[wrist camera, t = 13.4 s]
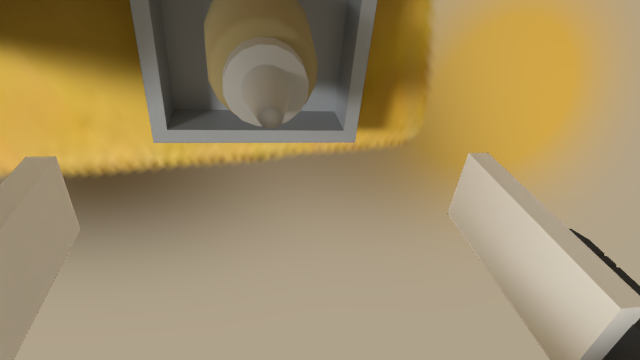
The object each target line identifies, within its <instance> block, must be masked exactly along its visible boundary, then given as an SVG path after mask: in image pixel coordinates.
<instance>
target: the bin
mask: <svg viewBox="0 0 640 360" xmlns="http://www.w3.org/2000/svg"><path fill="white" fill-rule="evenodd" d="M212 1H213V0H130V6H131V12H132V18H133V24H134V30H135V36H136V42H137V47H138V53H139V59H140V65H141V71H142V77H143V83H144V89H145V95H146V100H147V106H148V112H149V118H150V124H151V130H152V136H153V142H154V143H336V142H355V139H356V132H357V126H358V120H359V113H360V107H361V101H362V95H363V88H364V82H365V76H366V69H367V63H368V57H369V51H370V44H371V38H372V32H373V25H374V19H375V13H376V6H377V0H297V1H298V2H299V3H300V5H301V6H302V7H303V8H304V10H305V13H306V16H307V20H308V23H309V27H310V30H311V34H312V39H313V44H314V49H315V53H316V58H317V63H318V68H317V78H316V85H315V87H314V89H313V91H312V93H311V95H310V97H309V99H308V101H307V102H306V103H305V104H304V105H303V107H302V109H301V111H300V112H299V113H298V114H297V115H295V116H294V117H293V118H292V119H291V120H289V121H288V122H285V123H282V124H281V125H280V126H279V127H277V128H274V129H267V128H265V127H262V126H255V125H252V124H250V123H247V122H245V121H242V120H241V119H240V118H239V117H238V116H237V115H235V114H233V113H232V112H231V111H230V110H229V109H228V108H227V107H226V106H224V105H223V104H222V103H221V102H220V101H219V100H218V99H217V97H216V95H215V92H214V90H213V88H212V86H211V84H210V82H209V79H208V69H207V59H206V49H205V36H204V21H205V18H206V15H207V13H208V10H209V7H210V4H211V2H212Z"/></svg>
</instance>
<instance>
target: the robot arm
mask: <svg viewBox="0 0 640 360" xmlns="http://www.w3.org/2000/svg"><path fill="white" fill-rule="evenodd" d="M448 215H449V217H450V218H451V220H452V221H453V222H454V224H455V225H456V227H457V228H458V229H459V231H460V232H461V234H462V235H463V237H464V238H465V240H466V241H467V242H468V244H469V245H470V247H471V248H472V249H473V251H474V252H475V254H476V255H477V257H478V258H479V259H480V261H481V262H482V264H483V265H484V266H485V268H486V269H487V271H488V272H489V273H490V275H491V276H492V278H493V279H494V281H495V282H496V284H497V285H498V286H499V288H500V289H501V291H502V292H503V293H504V295H505V296H506V298H507V299H508V301H509V302H510V303H511V305H512V306H513V308H514V309H515V311H516V312H517V313H518V315H519V316H520V318H521V319H522V320H523V322H524V323H525V325H526V326H527V328H528V329H529V330H530V332H531V333H532V335H533V336H534V337H535V339H536V340H537V342H538V343H539V345H540V346H541V347H542V349H543V350H544V352H545V353H546V354H547V356H548V357H549V358H550V360H640V286H639V285H638V284H637V283H636V282H635V281H634V280H632V279H631V278H630V277H629V276H628V275H627V274H626V273H625V272H624V271H623V270H622V269H621V268H617V267H616V264H615V263H614V262H613V261H611V259H610V258H608V257H607V256H604V253H603V252H602V251H601V250H600V249H599V248H598V247H596V246H595V245H594V244H593V243H592V242H591V241H590V240H589V239H587V238H585V237H584V236H582V235H580V234H579V233H577V232H575V231H574V230H572V229H568V228H567V227H566V226H565V225H564V224H563V223H562V222H561V221H560V220H559V219H558V218H557V217H556V216H554V215H553V214H552V213H551V212H550V211H549V210H548V209H547V208H546V207H545V206H544V205H543V204H542V203H541V202H540V201H539V200H537V199H536V198H535V197H534V196H533V195H532V194H531V193H530V192H529V191H528V190H527V189H526V188H525V187H524V186H523V185H522V184H521V183H519V182H518V181H517V180H516V179H515V178H514V177H513V176H512V175H511V174H510V173H509V172H508V171H507V170H506V169H504V167H503V166H501V165H500V164H499V163H498V162H497V161H496V160H495V159H494V158H493V157H492V156H491V155H490V154H489V153H469V154H468V156H467V159H466V162H465V165H464V168H463V171H462V174H461V176H460V179H459V182H458V185H457V188H456V191H455V193H454V196H453V199H452V202H451V205H450V208H449V210H448ZM79 231H80V226H79V223H78V221H77V218H76V214H75V212H74V209H73V206H72V203H71V200H70V197H69V194H68V191H67V188H66V185H65V182H64V179H63V176H62V173H61V170H60V167H59V164H58V161H57V158H56V157H25V158H24V160H23V161H22V162H21V163H20V164H19V165H18V166H17V167H16V168H15V170H14V171H13V172H12V173H11V174H10V175H9V176H8V177H7V179H6V180H5V181H4V182H3V183H2V184H1V185H0V360H14V358H15V356H16V354H17V352H18V350H19V348H20V346H21V344H22V343H23V341H24V339H25V337H26V335H27V333H28V331H29V329H30V327H31V325H32V323H33V321H34V319H35V317H36V315H37V313H38V311H39V309H40V307H41V305H42V303H43V302H44V299H45V297H46V296H47V294H48V292H49V290H50V288H51V286H52V284H53V282H54V280H55V278H56V276H57V274H58V272H59V270H60V268H61V266H62V264H63V262H64V260H65V259H66V257H67V255H68V253H69V251H70V249H71V246H72V245H73V243H74V241H75V239H76V237H77V235H78V233H79Z"/></svg>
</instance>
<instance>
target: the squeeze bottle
mask: <svg viewBox="0 0 640 360" xmlns="http://www.w3.org/2000/svg"><path fill="white" fill-rule="evenodd" d="M204 36H205V49H206V59H207V69H208V79H209V82H210V84H211V86H212V88H213V90H214V92H215V95H216V97H217V99H218V100H219V101H220V102H221V103H222V104H223V105H224V106H226V107H227V108H228V109H229V110H230V111H231V112H232V113H233V114H235V115H237V116H238V117H239V118H240V119H241V120H242V121H245V122H247V123H250V124H252V125H255V126H262V127H265V128H267V129H274V128H277V127H279V126H280V125H281V124H282V123H285V122H288V121H289V120H291V119H292V118H293V117H294V116H295V115H297V114H298V113H299V112H300V111H301V109H302V107H303V105H304V104H305V103H306V102H307V101H308V99H309V97H310V95H311V93H312V91H313V89H314V87H315V85H316V78H317V68H318V63H317V58H316V53H315V49H314V44H313V39H312V34H311V30H310V27H309V23H308V20H307V16H306V13H305V10H304V8H303V7H302V6H301V5H300V3H299V2H298V1H297V0H213V1H212V2H211V4H210V7H209V10H208V13H207V15H206V18H205V21H204Z"/></svg>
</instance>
